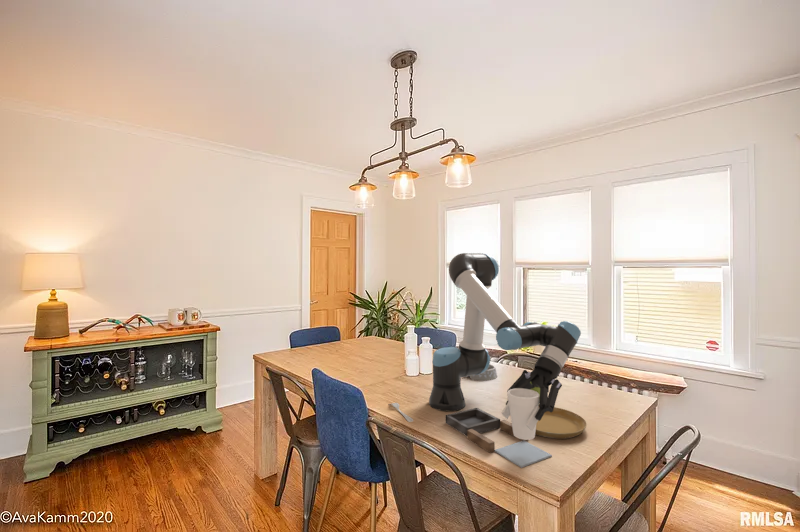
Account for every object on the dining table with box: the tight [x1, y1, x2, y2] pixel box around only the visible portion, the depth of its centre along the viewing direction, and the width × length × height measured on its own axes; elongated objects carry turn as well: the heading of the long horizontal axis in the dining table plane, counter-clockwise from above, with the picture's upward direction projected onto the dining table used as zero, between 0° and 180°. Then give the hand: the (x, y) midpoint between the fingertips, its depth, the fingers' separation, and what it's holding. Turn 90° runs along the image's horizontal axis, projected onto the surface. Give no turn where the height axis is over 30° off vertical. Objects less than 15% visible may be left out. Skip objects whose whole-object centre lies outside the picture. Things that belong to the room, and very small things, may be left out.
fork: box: [388, 402, 415, 423], centre depth 148 cm, size 3×21×3 cm, turn 25°
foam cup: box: [506, 388, 540, 441], centre depth 114 cm, size 10×9×13 cm
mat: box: [494, 440, 553, 468], centre depth 114 cm, size 11×13×1 cm
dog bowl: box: [469, 363, 498, 382], centre depth 198 cm, size 17×18×5 cm
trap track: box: [445, 407, 529, 454], centre depth 130 cm, size 25×17×3 cm
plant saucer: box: [535, 406, 588, 440], centre depth 134 cm, size 24×24×3 cm
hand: (516, 421), depth 112 cm, fingers closed on foam cup, 9 cm apart
